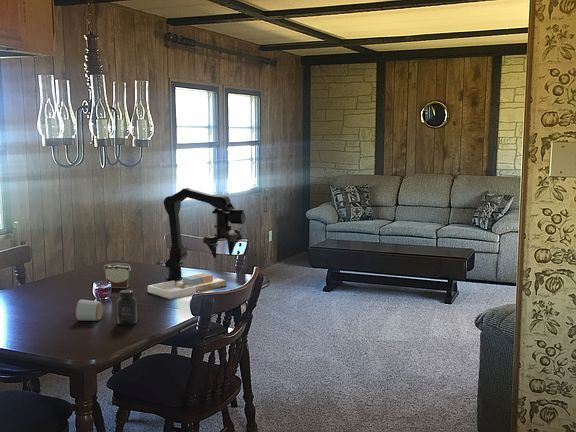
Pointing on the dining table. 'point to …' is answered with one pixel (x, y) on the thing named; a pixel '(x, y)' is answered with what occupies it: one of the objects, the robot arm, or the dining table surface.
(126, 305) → the supplement bottle
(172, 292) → the box
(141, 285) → the dining table surface
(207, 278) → the terracotta tile
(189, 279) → the slate tile
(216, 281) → the birch plate
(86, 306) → the white cylinder
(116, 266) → the food container
